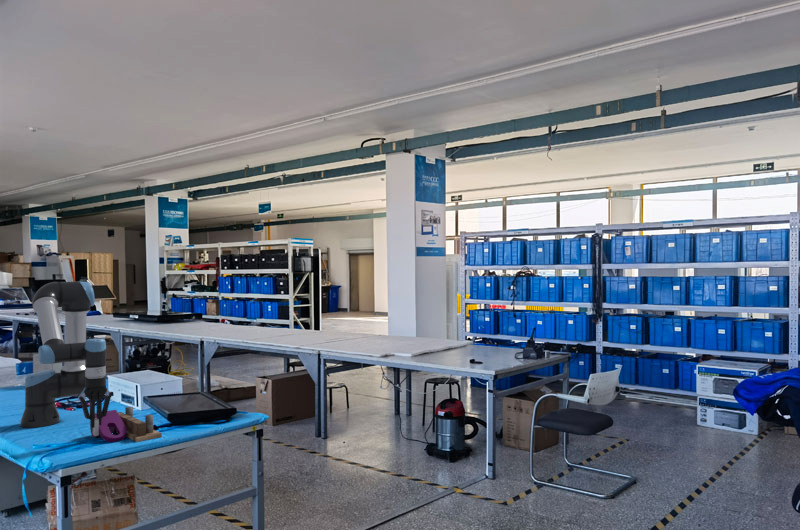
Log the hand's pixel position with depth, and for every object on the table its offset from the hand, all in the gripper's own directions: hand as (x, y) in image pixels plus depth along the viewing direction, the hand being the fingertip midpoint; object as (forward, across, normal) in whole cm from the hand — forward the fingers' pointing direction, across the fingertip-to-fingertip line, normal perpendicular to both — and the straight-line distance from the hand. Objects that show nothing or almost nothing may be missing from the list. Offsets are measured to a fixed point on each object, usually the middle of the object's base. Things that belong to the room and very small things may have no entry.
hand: (95, 435), depth 233 cm
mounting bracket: (+2, +5, 0) cm, 6 cm away
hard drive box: (+2, +20, +151) cm, 152 cm away
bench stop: (+2, +15, 0) cm, 15 cm away
